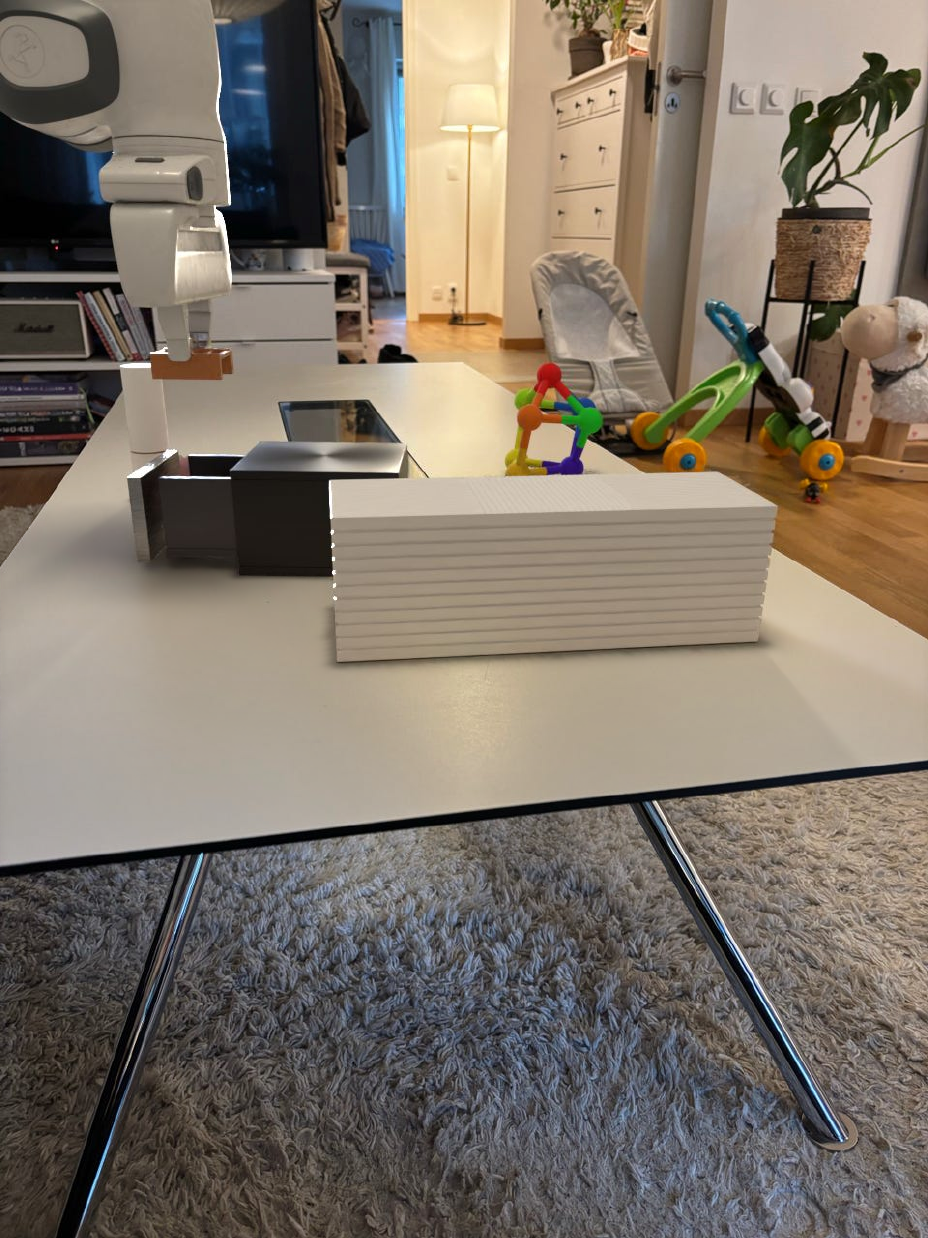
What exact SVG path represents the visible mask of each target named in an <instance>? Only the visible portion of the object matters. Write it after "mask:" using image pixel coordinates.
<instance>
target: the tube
mask: <svg viewBox="0 0 928 1238" xmlns="http://www.w3.org/2000/svg"><path fill="white" fill-rule="evenodd" d="M119 372H120V380H121V388H122V395H123V396H122V397H123V403H124V411H125V419H126V426H127V435H128V442H129V449H130V459H131V466H132V467H131V468H132V474H133V473H134V472H136V471H137V470H139V469H140V468H142V467H143V466H144V465H146V464H147V463H149V462H150V461H152V460H153V459H155V458H156V457H157V456H159V455H160V454H162V453H163V452H165V451H166V450H170V439H169V430H168V422H167V421H168V420H167V412H166V403H165V395H164V394H165V393H164V386H163V380H160V379H152V372H151V364H150V362H149V363H148V362H140V363H139V362H137V363H125V364H121V365H119Z"/></svg>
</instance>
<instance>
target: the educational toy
mask: <svg viewBox="0 0 928 1238" xmlns="http://www.w3.org/2000/svg"><path fill="white" fill-rule="evenodd" d="M562 377H563V373H562V370H561V368H560V366H558V364H556V363H554V362H545V363H542V364H541V365H540V366H539V368H538V369H537V371H536V380H537V382H536V383H535V384H534V385H533V386H532V388H531V389H530V388H522V389H520V390H518V391H517V392H516V393H515V396H514V401H513V402H514V406H515V408H516V409H517V410H518V411H517V415H516V421H517V430H516V437H515V442H514V448H512V449H510V450H509V451H508V452H507V453H506V454H505V456H504V464H505V467H506V470H505V476H540V475H543V476H545V475H549V476H550V475H583V473H584V467H585V466H584V463H583V462H582V460H581V456H582V453H583V451H584V448H585V447H586V443H587V441H588V439H589V436H590V435H591V434H595V433H597V432H599V431H600V429H601V427H602V426H603V422H604V417H603V415H602V413H601V411H599V410H598V409H597V406H596V404H595V402H594V401H593V400H592V399H591V398H588V397H580V398H578V397H577V396H576V394H574V393H573V392H572V391H571V390H570V389H569V388H568V387H567V386H566V384H564V383H563V381H562ZM548 389H555V390H556V392H558V394H559V395H560V396H561V397H562V398H563V399H564V401H566V402H562V401H555V400H550V399H549V400H548V399H544V398H545V396H546V394H547V392H548ZM540 408H543V409H549V410H555V411H561V412H568V413H572V415H570V414H552V413H551V414H549V413H543V411H542V410H541V409H540ZM542 424H559V425H575V430H574V436H573V440H572V444H571V445H572V446H571V449H570V454H569V456H566V457H564V458H563V459H562V460H561V461H560V462H557V461H550V460H543V459H536V458H530V457H529V456H528V455H527V453H528V450H529V444H530V440H531V435H532V432H534V431H536V430H537V429H539V428H540V427H541V425H542ZM528 457H529V458H528ZM529 467H530V468H529Z"/></svg>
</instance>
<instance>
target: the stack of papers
mask: <svg viewBox="0 0 928 1238" xmlns="http://www.w3.org/2000/svg"><path fill="white" fill-rule="evenodd" d="M329 490H330V514H331V538H332V561H333V576H332V580H333V581H332V583H333V602H334V603H333V605H334V624H335V626H334V627H335V650H336V651H335V652H336V663H340V662H341V663H342V662H343V663H344V662H362V661H364V662H365V661H382V660H383V661H385V660H403V659H404V660H405V659H422V658H423V659H424V658H444V657H465V656H481V655H482V656H484V655H485V656H487V655H489V656H490V655H506V654H507V655H508V654H527V653H549V652H550V653H551V652H567V651H569V652H570V651H589V650H590V651H591V650H609V649H626V648H628V649H629V648H631V649H632V648H648V647H649V648H650V647H651V648H652V647H667V646H691V645H692V646H693V645H712V644H729V643H731V644H732V643H749V642H751V643H752V642H759V637H760V630H759V629H760V628H761V624H762V619H761V618H760V617H762V616H763V610H764V608H763V606H762V605H764V603H765V594H763V593H766V590H767V583H766V582H765V581H768V575H769V570H767V569H769V568H770V564H771V558H770V557H771V555H772V549H773V545H771V544H773V543H774V537H775V536H774V535H775V533H774V532H772V531H775V529H776V523H777V521H776V520H775V519H774V518H777V517H778V510H779V506H778V505H777V504H775V503H773V502H772V501H770V500H768V499H766V498H765V497H763V496H762V495H760V494H758V493H756V492H755V491H753V490H751V489H749V488H747V487H746V486H744V485H743V484H740V483H739V482H737V481H735V480H733V479H732V478H730V477H728V475H727V476H726V475H725V474H723V473H721V472H720V471H692V472H691V471H689V472H684V471H682V472H641V473H640V472H637V473H595V474H594V473H592V474H589V473H588V474H582V475H561V474H553V475H545V476H543V475H540V476H506V475H501V476H500V475H499V476H498V475H497V476H496V475H495V476H454V477H453V476H451V477H446V476H445V477H407V478H398V479H350V480H329Z"/></svg>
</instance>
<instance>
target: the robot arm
mask: <svg viewBox="0 0 928 1238" xmlns="http://www.w3.org/2000/svg"><path fill="white" fill-rule="evenodd" d="M218 44H219V43H218V37H217V28H216V21H215V15H214V10H213V6H212V1H211V0H0V112H1V113H3V114H4V115H5V116H7V117H9V118H10V119H11V120H13V121H15V122H17V123H19V124H20V125H22V126H25V127H27V128H30V129H32V130H35V131H38V132H40V133H42V134H45V135H47V136H51V137H53V138H57V139H59V140H60V141H63V142H64V143H66V144H68V145H69V146H71V147H73V148H75V149H77V150H80V151H84V152H87V153H93V154H94V153H95V154H96V153H99V154H101V153H108V152H112V151H113V154H112V155H111V158H110V160H109V161H108V162H107V163H106V164H105V165H104V166H103V167H101V168H100V169H99V171H98V183H99V191H100V195H101V198H102V199H103V201H104V202H107V203H112V205H111V207H110V210H109V223H110V230H111V237H112V244H113V249H114V255H115V261H116V265H117V272H118V277H119V281H120V285H121V289H122V292H123V294H124V296H125V299H126V300H127V302H128V304H129V305H130V306H131V307H133V308H156V313H157V320H158V321H159V325H160V328H161V331H162V333H163V336H164V339H165V340H166V341H165V342H166V348H167V350H168V357H169V359H170V360H172V361H188V360H189V359H191V358H192V357H193V355H194V351H193V348H213V347H212V346H213V345H212V337H211V331H212V326H213V325H212V324H213V318H214V317H213V316H214V304H213V299H216V298H221V297H226V296H229V295H230V294H231V290H232V284H233V283H232V280H233V279H232V268H231V260H230V259H231V258H230V253H229V252H230V251H229V243H228V235H227V228H226V223H225V220H224V217H223V213H222V212H221V211H219V210H218V209H216V207H217V208H219V207H221V208H224V207H230V206H231V203H232V202H231V191H230V177H229V164H228V154H227V153H228V152H227V151H228V150H227V140H226V136H225V132H224V129H223V126H222V123H221V120H220V113H219V98H220V93H221V88H222V75H221V65H220V54H219V45H218Z"/></svg>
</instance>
